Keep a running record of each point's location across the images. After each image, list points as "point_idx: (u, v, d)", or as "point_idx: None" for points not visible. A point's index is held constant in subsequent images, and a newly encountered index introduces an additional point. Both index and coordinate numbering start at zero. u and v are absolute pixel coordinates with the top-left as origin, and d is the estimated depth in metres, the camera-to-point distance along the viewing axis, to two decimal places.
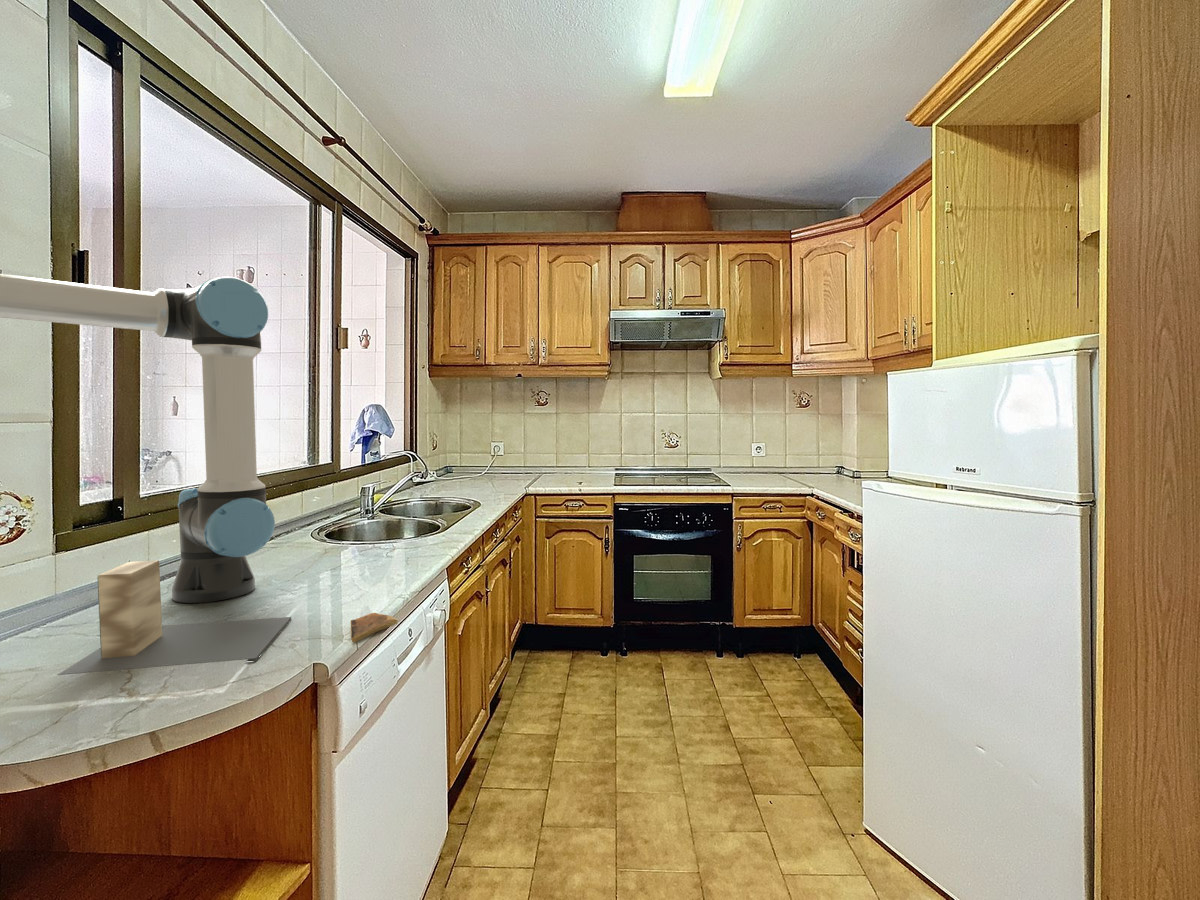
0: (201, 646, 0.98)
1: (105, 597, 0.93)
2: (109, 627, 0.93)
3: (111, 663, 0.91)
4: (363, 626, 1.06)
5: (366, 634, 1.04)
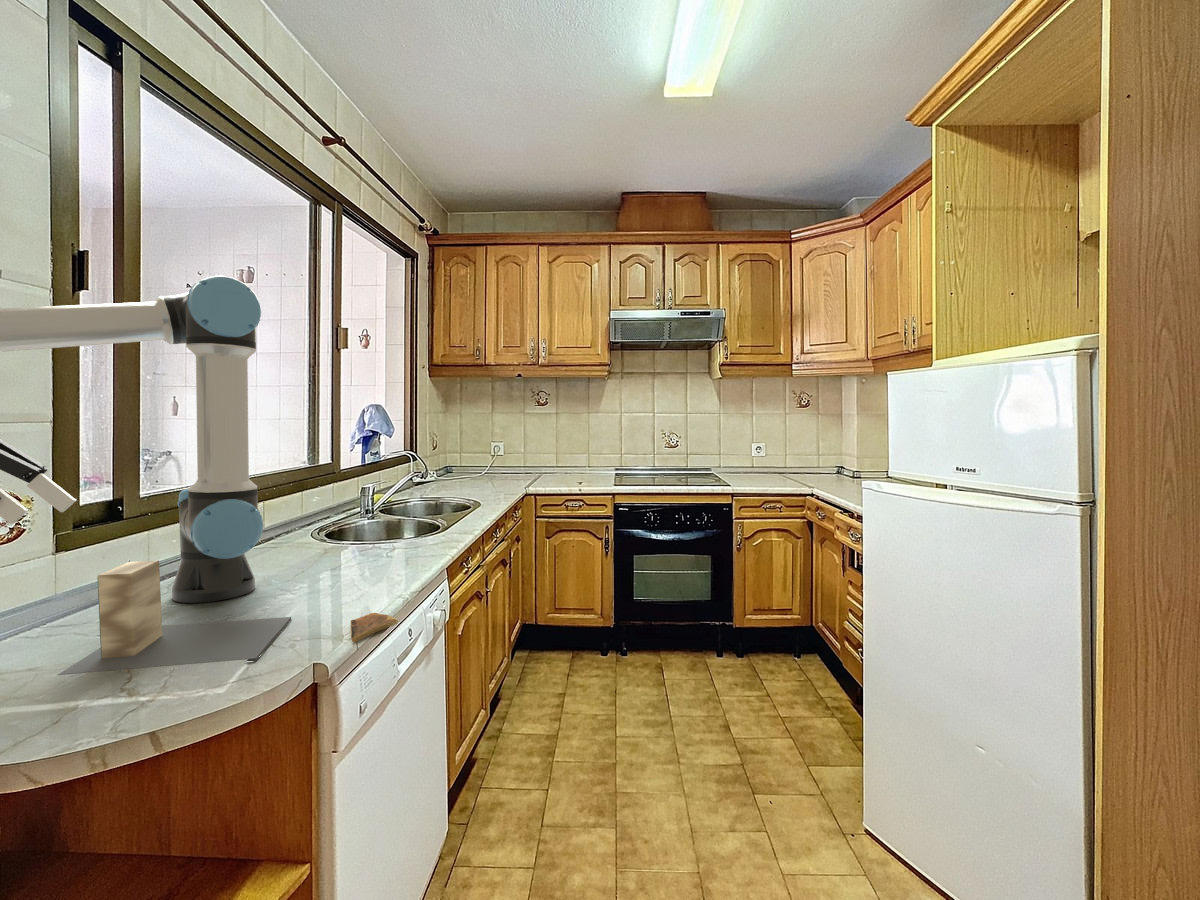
0: (201, 646, 0.98)
1: (105, 597, 0.93)
2: (109, 627, 0.93)
3: (111, 663, 0.91)
4: (363, 626, 1.06)
5: (366, 634, 1.04)
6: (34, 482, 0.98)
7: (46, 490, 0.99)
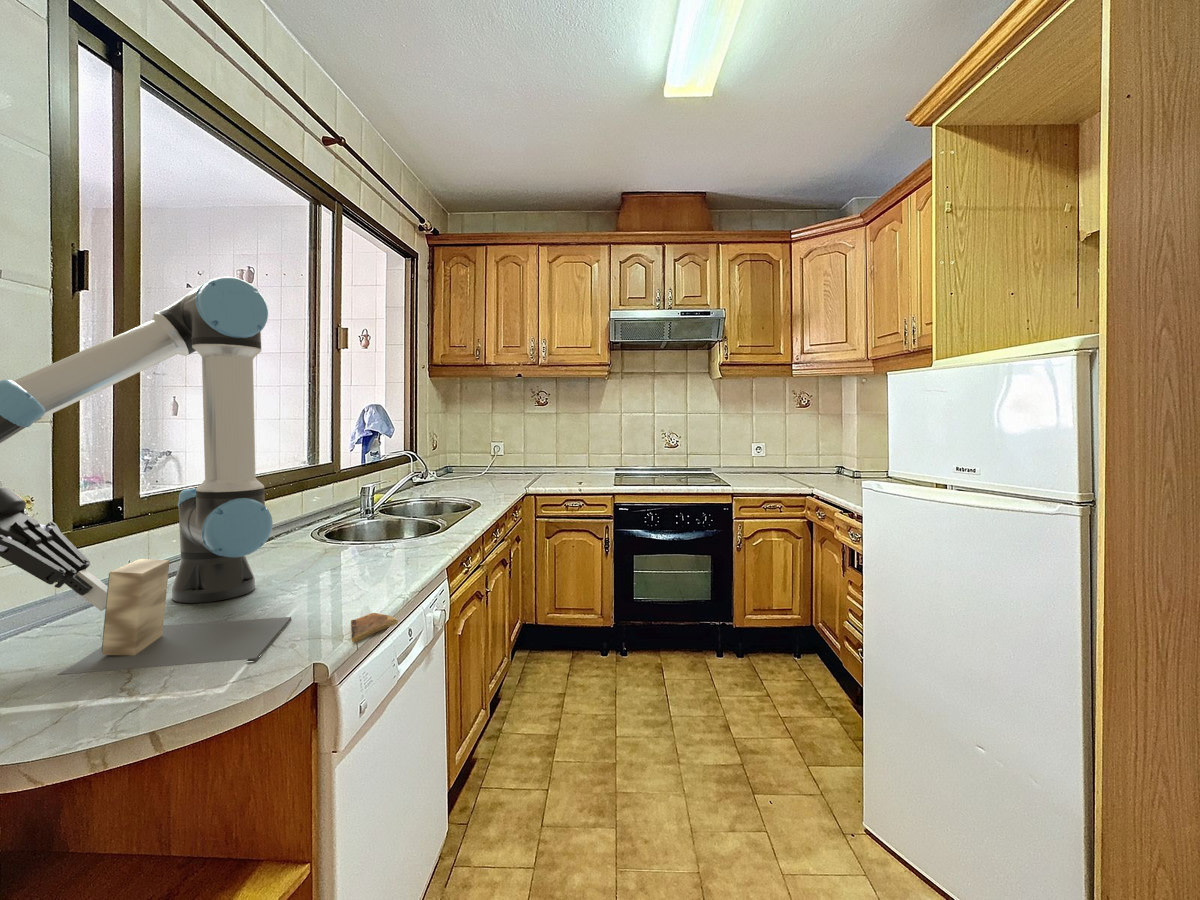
0: (201, 646, 0.98)
1: (114, 594, 0.93)
2: (113, 625, 0.93)
3: (111, 663, 0.91)
4: (363, 626, 1.06)
5: (366, 634, 1.04)
6: None
7: None
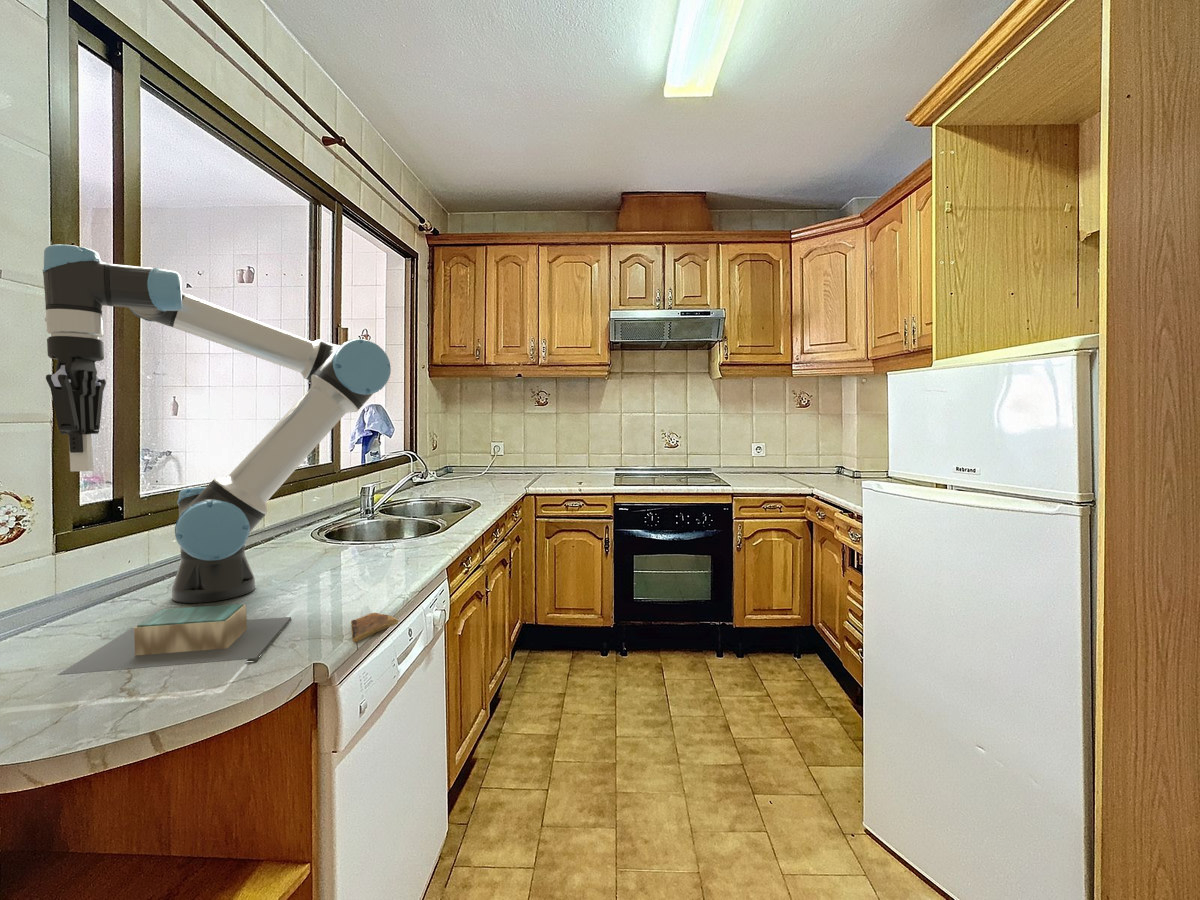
0: None
1: (202, 628, 0.96)
2: (168, 632, 0.95)
3: (111, 663, 0.91)
4: (363, 626, 1.06)
5: (367, 634, 1.04)
6: None
7: None
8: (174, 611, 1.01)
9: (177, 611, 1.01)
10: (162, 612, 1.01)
